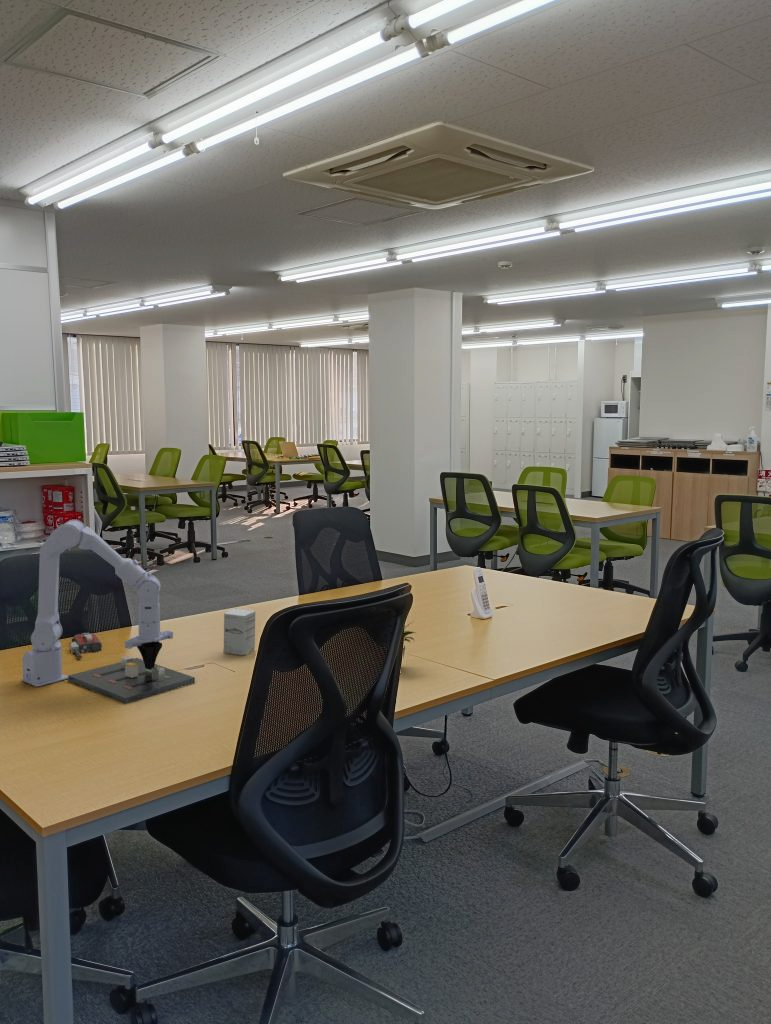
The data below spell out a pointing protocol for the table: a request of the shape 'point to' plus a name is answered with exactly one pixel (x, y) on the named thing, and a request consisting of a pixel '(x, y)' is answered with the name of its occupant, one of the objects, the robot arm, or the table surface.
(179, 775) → the table surface
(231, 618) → the supplement box
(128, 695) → the breaker board
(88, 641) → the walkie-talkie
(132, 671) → the block
